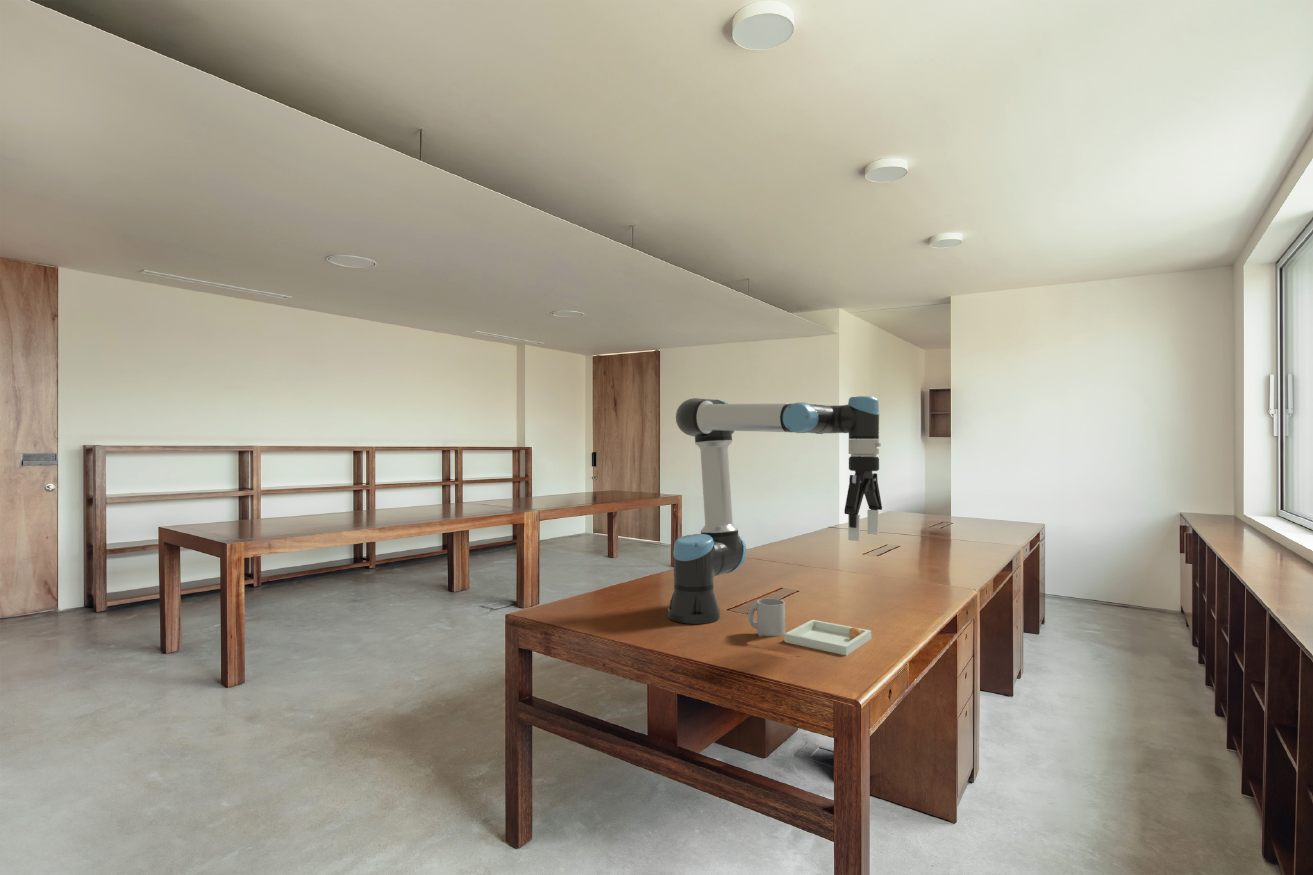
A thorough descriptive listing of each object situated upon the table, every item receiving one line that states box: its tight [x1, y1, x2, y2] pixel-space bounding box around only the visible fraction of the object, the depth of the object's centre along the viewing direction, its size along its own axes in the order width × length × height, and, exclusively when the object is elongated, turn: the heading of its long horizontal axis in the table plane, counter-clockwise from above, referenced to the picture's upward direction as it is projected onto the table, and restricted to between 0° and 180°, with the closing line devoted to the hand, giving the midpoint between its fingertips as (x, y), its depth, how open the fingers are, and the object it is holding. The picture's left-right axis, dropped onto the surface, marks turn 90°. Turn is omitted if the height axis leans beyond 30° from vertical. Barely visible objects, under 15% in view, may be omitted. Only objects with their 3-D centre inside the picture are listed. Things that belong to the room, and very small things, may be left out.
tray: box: [783, 619, 872, 656], centre depth 154 cm, size 16×16×3 cm
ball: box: [849, 626, 861, 639], centre depth 155 cm, size 3×3×3 cm
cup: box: [747, 598, 786, 638], centre depth 162 cm, size 7×10×9 cm
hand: (863, 537), depth 159 cm, fingers open, 13 cm apart
